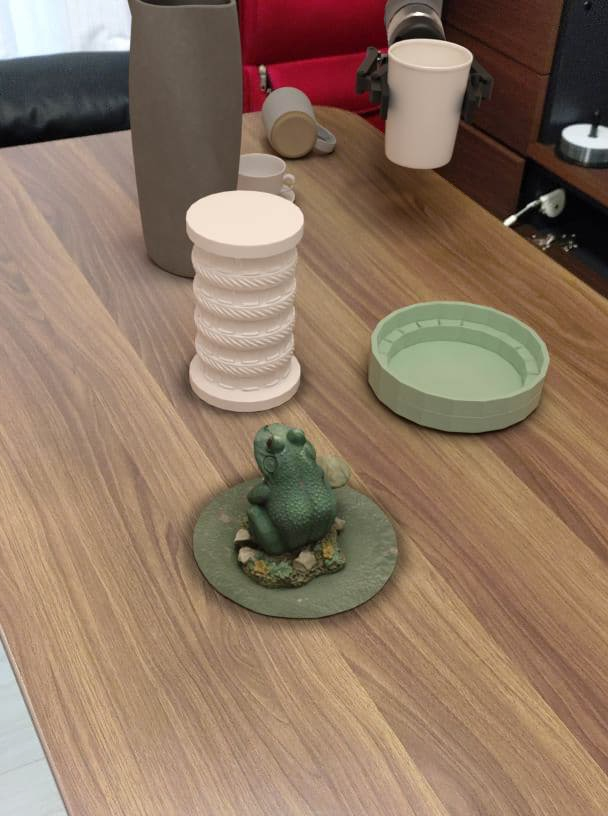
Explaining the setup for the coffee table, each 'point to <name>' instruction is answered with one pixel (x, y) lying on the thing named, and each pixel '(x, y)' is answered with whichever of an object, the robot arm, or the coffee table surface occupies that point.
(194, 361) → the decorative container
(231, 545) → the frog figurine
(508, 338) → the bowl
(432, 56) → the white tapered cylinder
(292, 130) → the ceramic mug
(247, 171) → the teacup
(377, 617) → the coffee table surface
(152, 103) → the vase
